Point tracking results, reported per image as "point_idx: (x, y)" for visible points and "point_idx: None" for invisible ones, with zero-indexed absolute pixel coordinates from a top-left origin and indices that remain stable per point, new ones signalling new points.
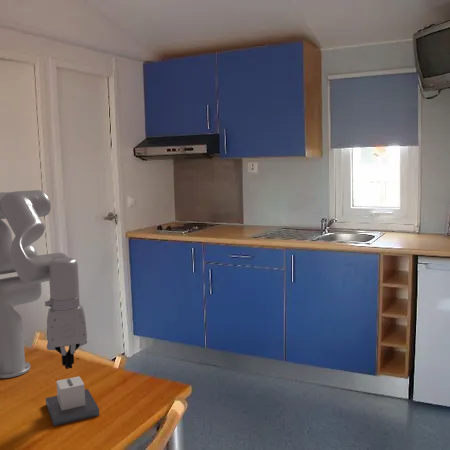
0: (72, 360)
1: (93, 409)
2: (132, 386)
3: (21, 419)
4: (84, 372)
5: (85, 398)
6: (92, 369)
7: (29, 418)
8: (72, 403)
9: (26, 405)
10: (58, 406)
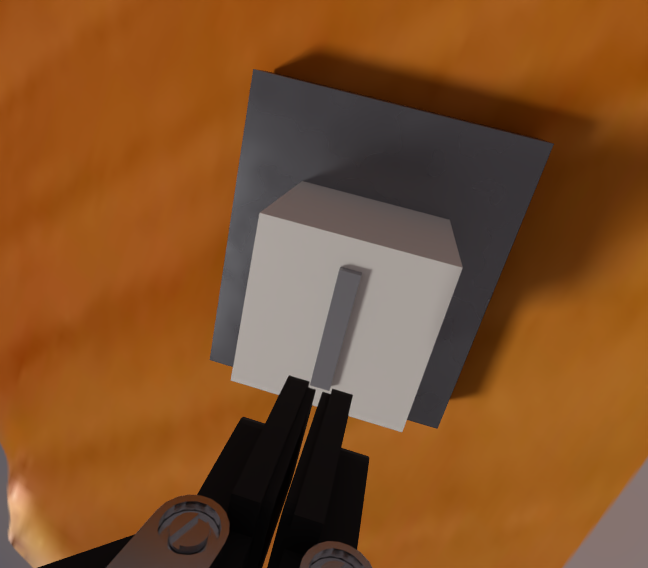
0: (247, 444)
1: (287, 81)
2: (6, 274)
3: (615, 357)
4: None
5: None
6: None
7: (578, 337)
8: (378, 207)
9: (508, 468)
10: None
